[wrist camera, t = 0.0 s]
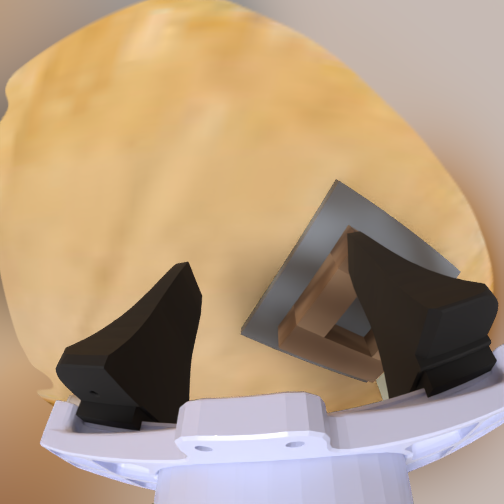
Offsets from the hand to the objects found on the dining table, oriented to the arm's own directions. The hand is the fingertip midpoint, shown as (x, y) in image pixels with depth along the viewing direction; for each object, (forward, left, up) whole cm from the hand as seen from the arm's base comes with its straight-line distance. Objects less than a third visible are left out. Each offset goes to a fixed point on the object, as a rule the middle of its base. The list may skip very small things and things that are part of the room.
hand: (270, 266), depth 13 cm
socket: (-3, -11, -11) cm, 16 cm away
